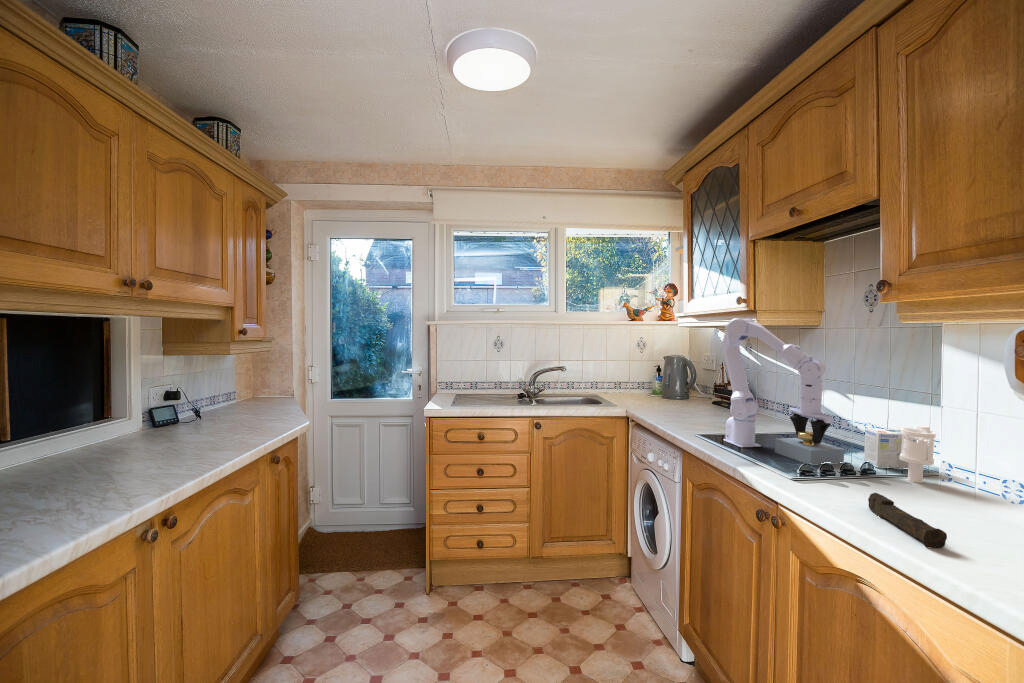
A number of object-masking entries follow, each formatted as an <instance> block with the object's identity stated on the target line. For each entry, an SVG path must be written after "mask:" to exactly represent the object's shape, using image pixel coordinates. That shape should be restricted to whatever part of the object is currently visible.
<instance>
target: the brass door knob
mask: <svg viewBox="0 0 1024 683" xmlns="http://www.w3.org/2000/svg"><path fill="white" fill-rule="evenodd" d="M798 439H801V440H803V444H804V445H807V446H814V443H813V431H807V430H805V431H798Z"/></svg>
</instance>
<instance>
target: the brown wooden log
mask: <svg viewBox="0 0 1024 683" xmlns="http://www.w3.org/2000/svg"><path fill="white" fill-rule="evenodd" d="M867 499H868V500H867V501H868V508H869V510H870V511H871V512H872V513H873V514H874V513H875V514H874V515H876V517H878V516H879V517H880V518H879V517H878V518H879V519H882V518H883V520H887V521H889V522H890V523H892V524H893V525H895V526H897V527H899V528H900V529H902V530H903V531H905V532H906V533H907V534H909V535H911V536H913V537H914V538H916V539H917V540H919V541H921V542H922V544H923V546H924V547H925V548H927V547H931V549H942V548H944V547H945V545H946V541H947V539H948V534H947V533H946V532H945V531H944V530H942V529H940V528H936V527H933V526H932V525H930V524H928V523H927V522H925V521H924V520H923V519H920V518H918V517H915V516H914V515H911V514H910V513H908V512H906V511H904V510H903V509H901V508H899V507H897V506H896V505H895V501H894V500H892V499H889V498H888V497H886V496H885V495H882V494H880V493H878V492H872V493H870V494H869V497H868V498H867Z"/></svg>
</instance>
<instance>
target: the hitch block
mask: <svg viewBox="0 0 1024 683" xmlns="http://www.w3.org/2000/svg"><path fill="white" fill-rule="evenodd" d="M774 453H776V454H778V455H781V456H784V457H786V458H789V459H792V460H794V459H795V460H794V461H797V462H800V463H802V462H803V463H802V464H805V463H812V464H821V463H824V462H831V463H834V464H833V465H836V464H835V463H840V462H844V461H845V449H844V448H842V447H839V446H835V445H833V444H830V443H825V442H823V441H821V444H814V446H807V445H804V444H803V440H801V439H798V438H797V437H786V438H785V437H784V438H780V437H779V438H775V439H774ZM844 463H845V462H844Z"/></svg>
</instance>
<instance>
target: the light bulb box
mask: <svg viewBox="0 0 1024 683" xmlns="http://www.w3.org/2000/svg"><path fill="white" fill-rule="evenodd" d="M864 430H865V432H864V433H865V434H864V451H863V452H864V456H863V461H864V460H865V461H869V462H871V463H873V464H874V465H876V466H878V467H889V468H908V466H909V462H906V461H903V460H901V459H899V456H900V454H901V446H902V433H901V429H891V428H865V429H864ZM907 436H908V435H907ZM913 442H917V443H918V440H914V439H913Z"/></svg>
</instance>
